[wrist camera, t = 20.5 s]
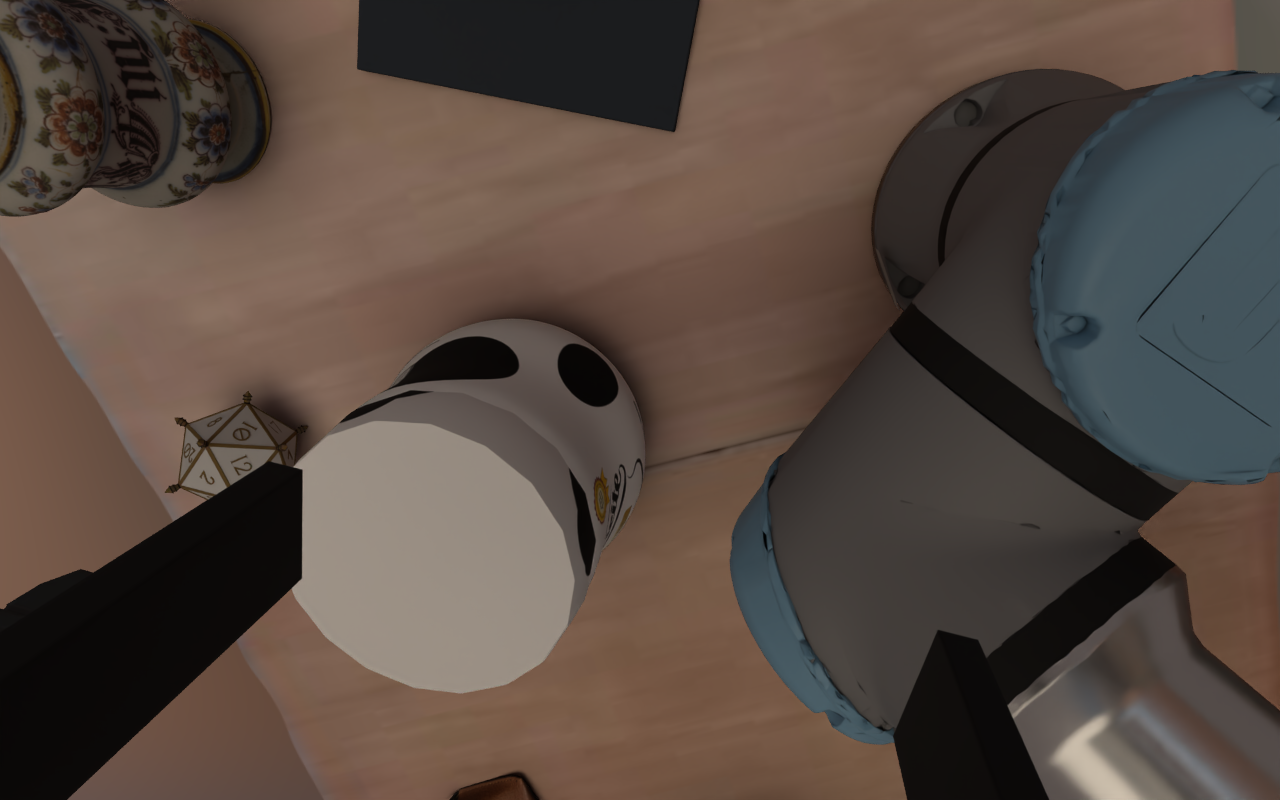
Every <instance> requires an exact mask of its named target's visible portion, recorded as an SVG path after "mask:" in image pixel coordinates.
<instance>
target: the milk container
mask: <svg viewBox="0 0 1280 800" xmlns="http://www.w3.org/2000/svg"><path fill="white" fill-rule="evenodd" d="M645 455H646V451H645V436H644V429H643V423H642V419H641V415H640V411H639V408H638V405H637V403H636V400H635V398H634V396H633V394H632V392H631V390H630V388H629V386H628V384H627V383H626V381H625V380H624V378H623V377H622V375H621V374H620V373H619V371H618V370H617V369H616V368H615V366H614V365H613V364H612V363H611V362H610V361H609V360H608V359H607V358H606V357H605V356H604V355H603V354H602V353H601V352H600V351H599V350H597V349H596V348H595V347H593V346H592V345H591V344H589V343H588V342H586V341H585V340H583V339H582V338H580V337H578V336H577V335H575V334H573V333H571V332H569V331H567V330H564V329H562V328H560V327H557V326H554V325H551V324H548V323H544V322H540V321H534V320H528V319H497V320H489V321H484V322H479V323H474V324H471V325H468V326H464V327H461V328H459V329H456V330H454V331H451V332H449V333H447V334H446V335H444V336H442V337H440V338H438V339H436V340H435V341H433V342H432V343H430V344H429V345H427V346H426V347H425V348H423V349H422V350H421V351H420V352H419V353H417V354H416V355H415V356H414V357H413V358H412V359H411V360H410V361H409V362H408V363H407V364H406V365H405V367H404V368H403V369H402V370H401V372H400V373H399V374H398V376H397V377H396V379H395V380H394V382H393V383H392V385H391V386H390V388H389V389H387V390H385V391H383V392H382V393H380V394H378V395H377V396H375V397H373V398H372V399H370V400H369V401H367V402H366V403H364V404H363V405H361V406H360V407H359V408H358V409H356V410H354V411H353V412H351V413H350V414H349V415H347V416H346V417H345V418H344V419H343V420H342V421H341V422H340V423H339V424H338V425H336V426H335V427H334V428H333V429H332V430H331V431H330V432H329V433H328V434H327V435H325V436H324V437H323V438H322V439H321V440H320V441H319V442H318V443H317V444H316V445H315V446H313V447H312V448H311V449H310V450H309V451H308V452H307V453H306V454H305V455H304V456H303V457H301V458H300V459H299V461H298V462H297V463H296V464H295V466H294V468H298V469H302V470H303V506H302V579H301V580H300V581H299V582H298V583H297V584H296V585H295V586H294V587H292V591H293V594H294V596H295V599H296V600H297V601H298V602H299V604H300V605H301V606H302V607H303V609H304V610H305V611H306V613H307V614H308V615H309V616H310V618H311V619H312V620H313V622H314V623H315V624H316V625H317V627H318V628H319V629H320V631H321V632H322V633H323V634H324V636H325V637H326V638H327V639H328V640H330V641H331V642H332V643H334V644H335V645H336V646H338V647H339V648H340V649H342V650H343V651H344V652H346V653H347V654H348V655H350V656H351V657H352V658H354V659H355V660H356V661H358V662H359V663H360V664H362V665H363V666H364V667H366V668H367V669H369V670H372V671H374V672H377V673H379V674H381V675H384V676H386V677H389V678H391V679H394V680H396V681H399V682H401V683H403V684H406V685H408V686H411V687H413V688H420V689H429V690H437V691H446V692H454V693H466V692H471V691H477V690H482V689H487V688H492V687H497V686H502V685H507V684H508V683H510V682H512V681H513V680H515V679H516V678H518V677H520V676H521V675H523V674H524V673H526V672H528V671H529V670H531V669H532V668H534V667H536V666H537V665H539V664H541V663H542V662H544V660H545V659H546V658H547V656H548V655H549V654H550V652H551V651H552V650H553V648H554V647H555V645H556V644H557V642H558V641H559V639H560V638H561V636H562V635H563V633H564V632H565V630H566V629H567V627H568V626H569V624H570V623H571V621H572V620H573V618H574V617H575V615H576V613H577V612H578V610H579V608H580V607H581V605H582V603H583V601H584V599H585V596H586V594H587V590H588V586H589V584H590V582H591V580H592V578H593V576H594V573H595V570H596V567H597V564H598V561H599V558H600V555H601V552H602V551H603V550H604V549H605V548H606V547H607V546H608V545H609V544H610V543H611V542H612V541H613V540H614V539H615V537H616V536H617V535H618V534H619V532H620V531H621V530H622V528H623V527H624V525H625V523H626V522H627V520H628V518H629V517H630V515H631V513H632V511H633V509H634V507H635V504H636V502H637V499H638V496H639V493H640V490H641V486H642V482H643V476H644V469H645Z"/></svg>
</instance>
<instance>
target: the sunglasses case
mask: <svg viewBox="0 0 1280 800" xmlns="http://www.w3.org/2000/svg"><path fill="white" fill-rule="evenodd" d="M450 800H538V799H537V797H536V796H535V794H534V793H533V792H532V790H531V789H530V788H529V787H528V785H527V784H526V783H525V781H524V780H523V779H522V778H521V777H517V776H513V775H512V776H507V777H501V778H496V779H492V780H488V781H484V782H481V783H478V784H474V785H471V786H468V787H465V788H462V789H460V790H459V791H458V792H456V793H455V794H454V795H453V796H452V797H451V798H450Z"/></svg>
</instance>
